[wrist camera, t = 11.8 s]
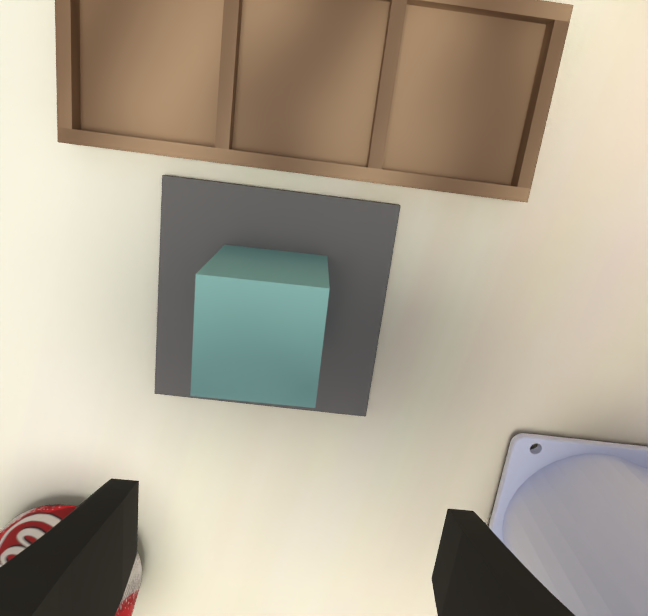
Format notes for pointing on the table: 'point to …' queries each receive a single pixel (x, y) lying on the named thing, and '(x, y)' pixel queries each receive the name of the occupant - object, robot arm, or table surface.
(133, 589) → the soda can
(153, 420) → the table surface
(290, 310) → the teal block
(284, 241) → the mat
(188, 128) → the organizer
